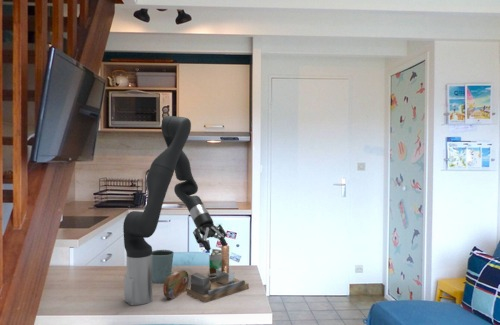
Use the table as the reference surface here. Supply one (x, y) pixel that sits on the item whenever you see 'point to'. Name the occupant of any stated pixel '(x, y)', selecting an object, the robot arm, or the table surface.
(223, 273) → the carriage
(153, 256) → the teal cup
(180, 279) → the tin
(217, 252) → the food container
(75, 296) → the table surface
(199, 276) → the railed wooden base
